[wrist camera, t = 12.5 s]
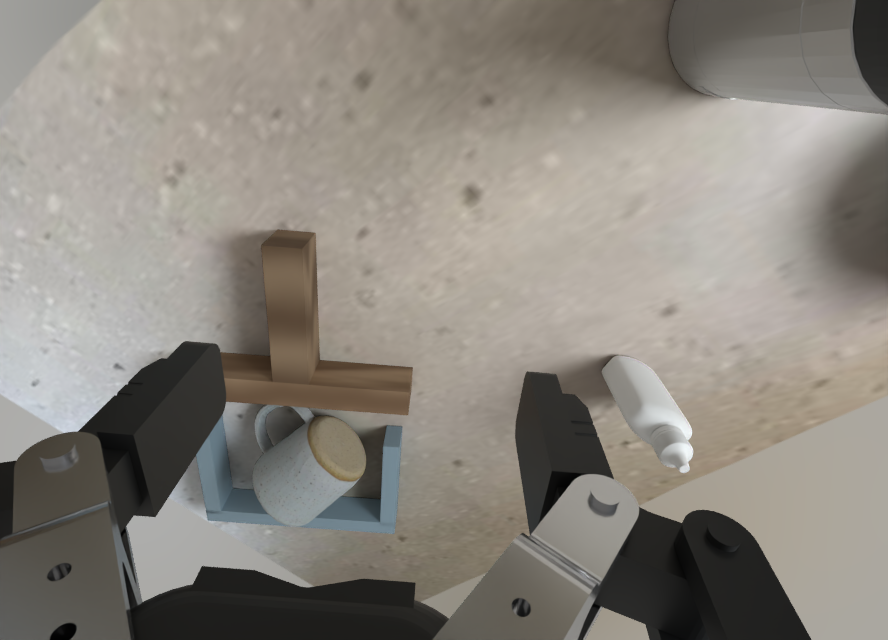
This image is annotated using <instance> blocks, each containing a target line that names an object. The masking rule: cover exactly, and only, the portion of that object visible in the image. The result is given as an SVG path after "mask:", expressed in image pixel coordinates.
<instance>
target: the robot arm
mask: <svg viewBox="0 0 888 640" xmlns="http://www.w3.org/2000/svg"><path fill="white" fill-rule="evenodd" d="M668 42H669V50H670V55H671V58H672V61H673V64H674V67H675V69H676V70H677V72H678V73H679V75H680V76H681V78H682V79H683V80H684V81H685V82H686V83H687V84H688V85H689V86H690V87H691V88H693V89H695V90H697V91H699V92H701V93H703V94H707V95H711V96H716V97H720V98H726V99H743V100H751V101H761V102H771V103H781V104H790V105H800V106H810V107H820V108H829V109H839V110H849V111H859V112H868V113H877V114H887V115H888V0H675V3H674V5H673V9H672V13H671V17H670V21H669V32H668ZM225 404H226V387H225V381H224V374H223V367H222V360H221V353H220V349H219V347H218V345H217V344H212V343H201V342H189V341H185V342H183V343H182V344H181V345H180V346H179V347H178V348H177V349H176V350H175V351H174V352H173V353H172V354H171V355H170V356H169V357H168V358H167V359H162V358H161V359H159V360H157V361H156V362H154V363H152V364H150V365H148V366H146V367H144V368H143V369H141V370H140V371H139V372H138V373H137V374H136V375H135V376H134V377H133V378H132V379H131V380H130V381H129V382H128V385H125V386H124V387H123V388H122V389H121V390H120V391H119V392H118V393H117V396H114V397H113V398H112V399H111V400H110V401H109V402H108V403H107V404H106V405H105V406H104V407H102V408H101V409H100V410H99V411H98V412H97V413H96V414H95V415H94V416H93V417H92V418H91V419H90V420H89V421H88V422H87V423H86V424H85V425H84V426H83V427H82V428H81V429H80V430H79V431H78V432H68V433H63V434H59V435H55V436H52V437H49V438H47V439H44V440H42V441H40V442H38V443H36V444H34V445H33V446H31V447H30V448H29V449H27V450H26V451H25V452H24V453H23V454H21V456H20V457H19V458H18V459H17V461H11V462H4V463H0V640H585V639H586V637H587V635H588V633H589V632H590V630H591V628H592V626H593V624H594V622H595V620H596V618H597V617H598V615H599V613H600V611H601V609H602V607H604V608H607V609H609V610H611V611H614V612H616V613H619V614H621V615H624V616H626V617H629V618H631V619H634V620H636V621H639V622H642V623H644V624H646V628H647V631H648V635H649V639H650V640H811V638H810V636H809V634H808V633H807V631H806V629H805V627H804V625H803V624H802V622H801V620H800V618H799V616H798V615H797V613H796V611H795V609H794V607H793V606H792V604H791V602H790V600H789V598H788V597H787V595H786V593H785V591H784V589H783V588H782V586H781V584H780V582H779V580H778V579H777V577H776V575H775V573H774V571H773V570H772V568H771V566H770V564H769V562H768V561H767V559H766V557H765V555H764V553H763V551H762V550H761V548H760V546H759V544H758V543H757V541H756V540H755V538H754V537H753V536H752V535H751V533H750V532H748V530H746V529H745V528H744V527H743V526H742V525H740V524H739V523H738V522H736V521H734V520H733V519H731V518H729V517H727V516H725V515H723V514H720V513H717V512H714V511H709V510H696V511H693V512H691V513H689V514H688V515H687V516H686V517H685V519H684V520H683V523H680V522H677V521H674V520H671V519H668V518H665V517H661V516H659V515H656V514H653V513H651V512H648V511H646V510H644V509H642V508H640V507H639V505H638V503H637V500H636V498H635V497H634V495H633V494H632V493H631V492H630V491H629V490H628V489H627V488H626V487H625V486H624V485H622V484H621V483H619V482H618V481H616V480H614V478H613V475H612V472H611V470H610V467H609V464H608V462H607V459H606V456H605V453H604V451H603V448H602V445H601V443H600V440H599V437H597V432H596V429H595V427H594V425H593V421H592V419H591V416H590V413H589V411H588V408H587V407H586V406H585V405H584V404H583V403H582V402H581V401H580V400H579V399H578V397H577V396H576V395H572V394H562V391H561V388H560V384H559V381H558V378H557V375H556V374H550V373H539V372H527V373H526V375H525V378H524V383H523V388H522V393H521V398H520V403H519V409H518V414H517V419H516V429H515V438H516V447H517V453H518V460H519V466H520V473H521V479H522V486H523V492H524V499H525V506H526V512H527V519H528V525H529V532H530V536H529V537H528V536H527V535H525V534H524V533H522V534H520V535H518V536H517V537H516V538H515V539H514V541H513V542H512V543H511V544H510V545H509V547H508V548H507V549H506V550H505V551H504V553H503V554H502V555H501V556H500V558H499V559H498V560H497V561H496V562H495V564H494V565H493V566H492V567H491V569H490V570H489V571H488V572H487V573H486V575H485V576H484V577H483V578H482V580H481V581H480V582H479V583H478V584H477V586H476V587H475V588H474V590H473V591H472V592H471V593H470V594H469V595H468V597H467V598H466V599H465V600H464V602H463V603H462V604H461V605H460V607H459V608H458V609H457V610H456V612H455V613H454V614H453V615H452V616H451V617H450V619H448V618H447V617H446V616H444V615H443V614H441V613H440V612H438V611H437V610H435V609H433V608H431V607H429V606H427V605H425V604H423V603H421V602H418V601H415V600H414V595H415V583H412V582H399V581H386V580H373V579H359V580H353V581H347V582H341V583H335V584H328V585H322V586H316V587H310V588H306V587H300V586H297V585H295V584H292V583H289V582H286V581H283V580H281V579H278V578H275V577H272V576H269V575H266V574H264V573H261V572H258V571H255V570H244V569H231V568H218V567H217V568H216V567H205V566H204V567H203V566H202V567H201V569H200V572H199V573H198V576H197V577H196V579H195V581H194V583H193V585H187V586H184V587H180V588H176V589H173V590H170V591H167V592H165V593H162V594H159V595H157V596H155V597H153V598H151V599H148V600H146V601H144V602H142V598H141V594H140V588H139V583H138V578H137V573H136V569H135V563H134V558H133V553H132V548H131V544H130V538H129V534H128V531H127V527H126V526H127V524H128V523H129V521H130V520H131V518H132V517H133V516H134V515H136V516H149V517H156V515H157V514H158V512H159V510H160V509H161V508H162V506H163V504H164V503H165V501H166V500H167V498H168V497H169V495H170V494H171V492H172V491H173V489H174V488H175V486H176V485H177V483H178V482H179V480H180V479H181V477H182V476H183V474H184V473H185V471H186V470H187V468H188V466H189V465H190V463H191V462H192V460H193V459H194V457H195V456H196V454H197V453H198V451H199V450H200V448H201V447H202V445H203V444H204V442H205V441H206V439H207V438H208V436H209V435H210V433H211V431H212V430H213V428H214V427H215V425H216V424H217V422H218V421H219V419H220V418H221V416H222V414H223V412H224V408H225Z"/></svg>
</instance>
